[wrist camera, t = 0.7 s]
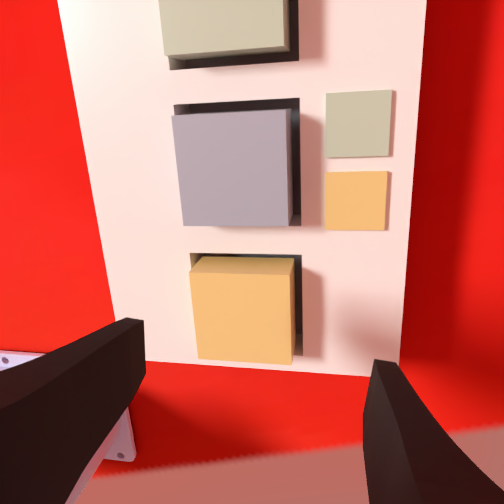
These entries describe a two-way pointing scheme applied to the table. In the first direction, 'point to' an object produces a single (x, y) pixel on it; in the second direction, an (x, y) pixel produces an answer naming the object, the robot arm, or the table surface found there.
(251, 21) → the key sage
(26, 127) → the table surface
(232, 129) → the key slate
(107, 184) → the keyguard panel
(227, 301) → the key ochre
